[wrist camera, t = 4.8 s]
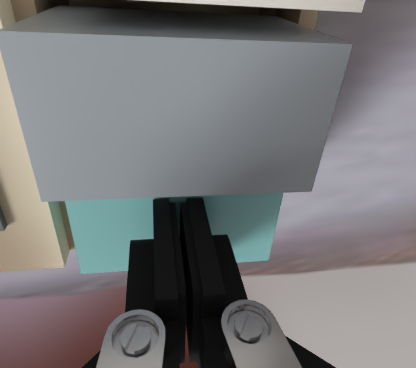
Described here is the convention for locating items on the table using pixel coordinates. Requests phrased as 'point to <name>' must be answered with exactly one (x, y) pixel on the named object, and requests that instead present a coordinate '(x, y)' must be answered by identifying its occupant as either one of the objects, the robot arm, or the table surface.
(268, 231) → the teal key
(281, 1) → the white rectangular block
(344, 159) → the table surface
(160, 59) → the slate key
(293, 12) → the tan wooden box
